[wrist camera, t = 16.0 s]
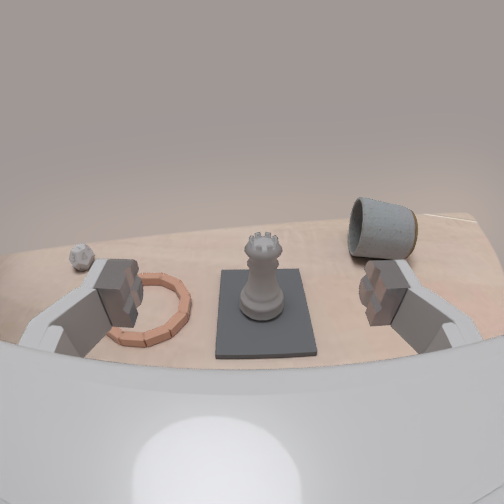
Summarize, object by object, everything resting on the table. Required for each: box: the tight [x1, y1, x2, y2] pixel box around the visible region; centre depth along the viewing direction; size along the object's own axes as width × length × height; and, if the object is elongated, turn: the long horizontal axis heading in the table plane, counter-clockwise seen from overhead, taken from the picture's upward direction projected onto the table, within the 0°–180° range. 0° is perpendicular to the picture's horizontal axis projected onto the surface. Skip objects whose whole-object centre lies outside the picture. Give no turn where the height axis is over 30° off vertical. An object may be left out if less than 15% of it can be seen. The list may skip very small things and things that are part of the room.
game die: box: [69, 243, 95, 271], centre depth 35 cm, size 4×4×3 cm
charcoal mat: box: [215, 269, 317, 359], centre depth 30 cm, size 9×12×1 cm
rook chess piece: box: [240, 232, 284, 321], centre depth 28 cm, size 4×4×8 cm
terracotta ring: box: [106, 273, 192, 347], centre depth 30 cm, size 10×10×1 cm
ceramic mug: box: [348, 197, 418, 260], centre depth 38 cm, size 11×8×8 cm
